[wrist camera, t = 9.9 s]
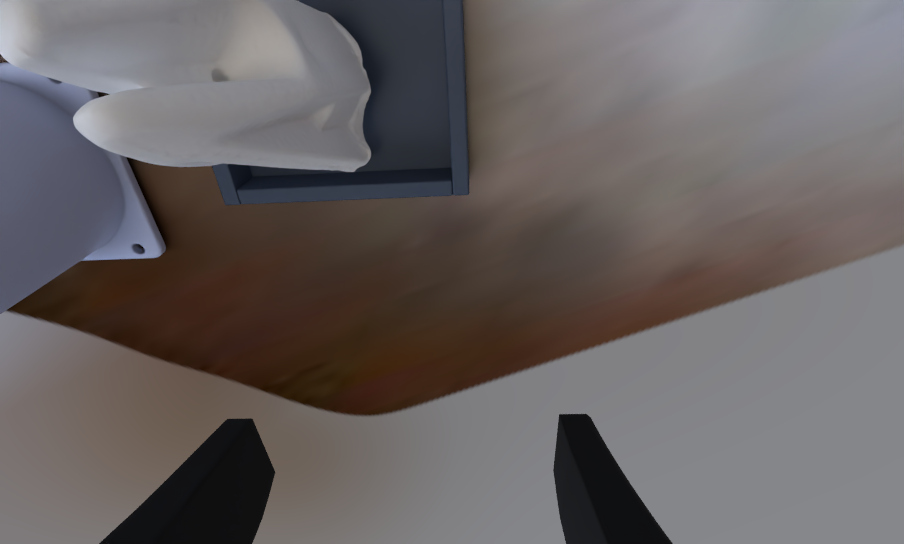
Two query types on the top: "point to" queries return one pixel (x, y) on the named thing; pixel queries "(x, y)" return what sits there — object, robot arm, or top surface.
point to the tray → (387, 111)
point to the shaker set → (201, 78)
